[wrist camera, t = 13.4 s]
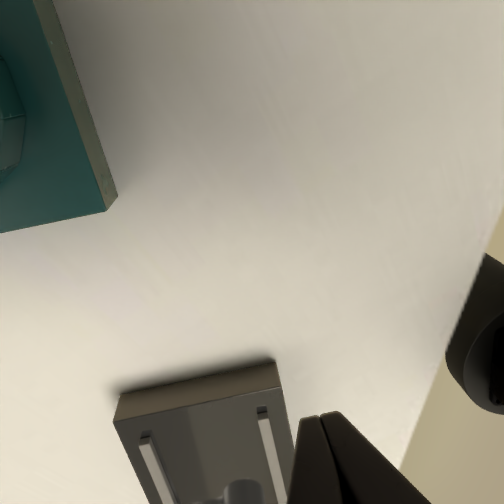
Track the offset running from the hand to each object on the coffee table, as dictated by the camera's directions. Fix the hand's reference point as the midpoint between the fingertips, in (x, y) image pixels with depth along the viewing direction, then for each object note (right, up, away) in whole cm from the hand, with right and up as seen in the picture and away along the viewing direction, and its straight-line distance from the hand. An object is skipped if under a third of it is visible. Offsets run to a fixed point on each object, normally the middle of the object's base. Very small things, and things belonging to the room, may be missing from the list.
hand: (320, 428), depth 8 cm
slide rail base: (-3, -11, +18) cm, 21 cm away
